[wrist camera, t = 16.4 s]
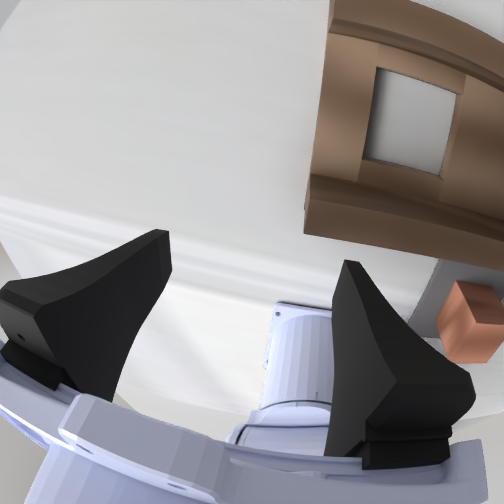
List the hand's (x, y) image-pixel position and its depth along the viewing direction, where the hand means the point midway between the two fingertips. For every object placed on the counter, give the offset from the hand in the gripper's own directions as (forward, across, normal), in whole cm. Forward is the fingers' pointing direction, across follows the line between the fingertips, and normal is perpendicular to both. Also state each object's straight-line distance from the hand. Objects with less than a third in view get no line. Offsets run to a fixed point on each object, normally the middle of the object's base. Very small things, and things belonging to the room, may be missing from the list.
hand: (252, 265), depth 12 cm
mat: (+9, -18, +7) cm, 21 cm away
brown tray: (+9, -13, -6) cm, 18 cm away
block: (+9, -18, +7) cm, 21 cm away
